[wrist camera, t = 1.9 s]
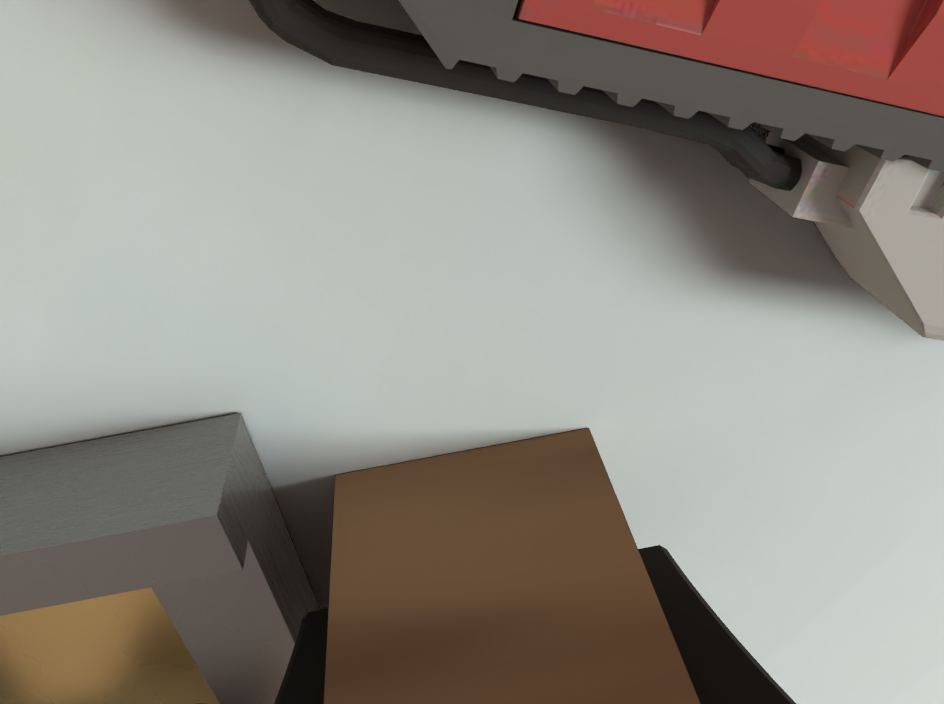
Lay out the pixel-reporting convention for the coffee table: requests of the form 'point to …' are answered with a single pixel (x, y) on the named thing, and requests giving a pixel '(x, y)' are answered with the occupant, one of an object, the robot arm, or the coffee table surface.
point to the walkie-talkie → (716, 99)
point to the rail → (146, 571)
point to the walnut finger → (494, 584)
